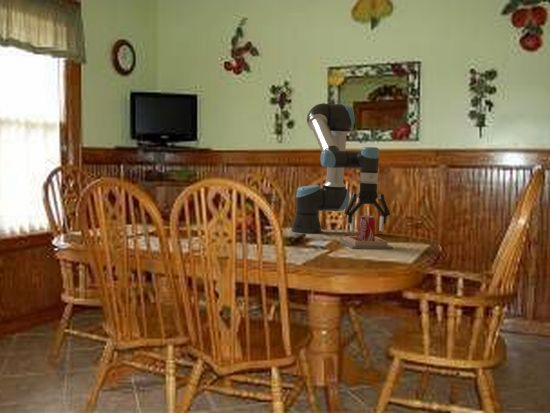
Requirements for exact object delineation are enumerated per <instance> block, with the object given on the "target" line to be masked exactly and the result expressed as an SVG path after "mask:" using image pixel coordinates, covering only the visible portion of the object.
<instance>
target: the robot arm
mask: <svg viewBox="0 0 550 413" xmlns="http://www.w3.org/2000/svg"><path fill="white" fill-rule="evenodd" d="M355 121H356V118H355V111H354V109H353V107H352V106H350V105H348V104H342V103H339V104H337V103H324V102H323V103H318V104H315V105H314V106H313V107H311V108H310V110H309V111H308V113H307V116H306V123H307V126H308V128H309V129H310V130H311V131H312V132H313V134H314V136H315V138H316V141H317V144H318V145H319V148H320V150H321V153H320V158H319V159H320V165H321V166H322V167H324V168H326V179H325V182H324V183H323V184H322V187H321V186H320V185H318V184H313V185H311V184H310V185H304V186H300V187H298V188H297V189H296V195H295V217H294V220H293V222H292V225H291V232H295V233H303V234H317V233H322V224H321V220H320V218H319V212H343V211H344V212H343V214H344V215H347V217H348V218H347V222H348V224H349V231H350V232H354V223H355V216H353V215H354V214H355V213H356V212H357V211H358V209H359V208H360V207H361V206H362V205H373V206H374V207H375V208H376V210H377V211H378V212H379V214H380V216H379V228H378V229H379V230H378V231H379V232H384V225H385V224H386V218H387V216H390V215H391V213H390V210H389V207H388V205H387V203H386V200H385V195H384V194H383V193H380V194H378V179H379V178H378V177H379V161H380V160H379V159H380V150H379V147H377V146H376V147H373V146H362V147H361V150H359V151H355V150H354V151H350V150H346V145H347V135H348V134H349V133H350V131H351V129H353V128H354V125H355ZM345 169H360V175H359V176H360V177H359V181H360V184H359V193H355V192H353V193H352V195H351V198H350V191H349V189H348V188H347V186H346V184H345V183H344V175H345V174H344V173H345ZM358 198H359V200H358V201H357V203H356V204H355V202H356V200H357V199H358ZM377 199H379V202H380V204H381V206H382V207H381V206H380V204H379V203H378V201H377Z"/></svg>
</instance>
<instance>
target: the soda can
mask: <svg viewBox="0 0 550 413" xmlns="http://www.w3.org/2000/svg"><path fill="white" fill-rule="evenodd" d="M375 235H376V219H375V215H364V214H363V215H360V218H359V222H358V238H359V241H374V239H375V237H376V236H375Z"/></svg>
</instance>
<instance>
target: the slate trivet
mask: <svg viewBox="0 0 550 413" xmlns="http://www.w3.org/2000/svg"><path fill="white" fill-rule="evenodd" d="M358 236H359V235H358ZM358 236H357V235H356V236H352V235H349V236H348V235H346V236H345V237H344V239H339V242H341V243H340V244H342V245H344V246H346V247H348V248H349V249H352V250H393V249H394V246H392V245H389V244H388V243H389V242H388V240H385V239H382V238H380V237H378V236H375V239H374V241H359V238H358Z"/></svg>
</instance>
